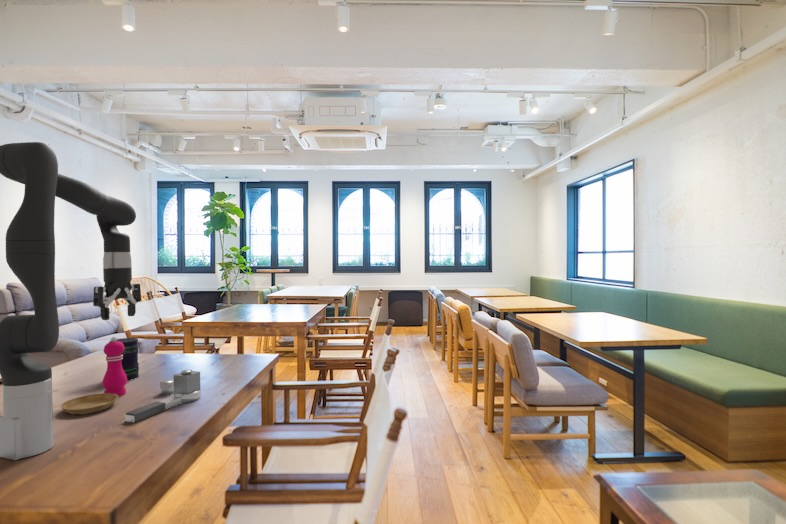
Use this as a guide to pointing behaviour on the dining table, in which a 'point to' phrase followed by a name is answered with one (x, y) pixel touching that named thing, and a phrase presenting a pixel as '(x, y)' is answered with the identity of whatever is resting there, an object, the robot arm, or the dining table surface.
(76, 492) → the dining table surface
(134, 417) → the ratchet
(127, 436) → the dining table surface
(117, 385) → the pepper mill
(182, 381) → the socket
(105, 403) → the plant saucer
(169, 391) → the socket
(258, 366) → the dining table surface
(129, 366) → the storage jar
